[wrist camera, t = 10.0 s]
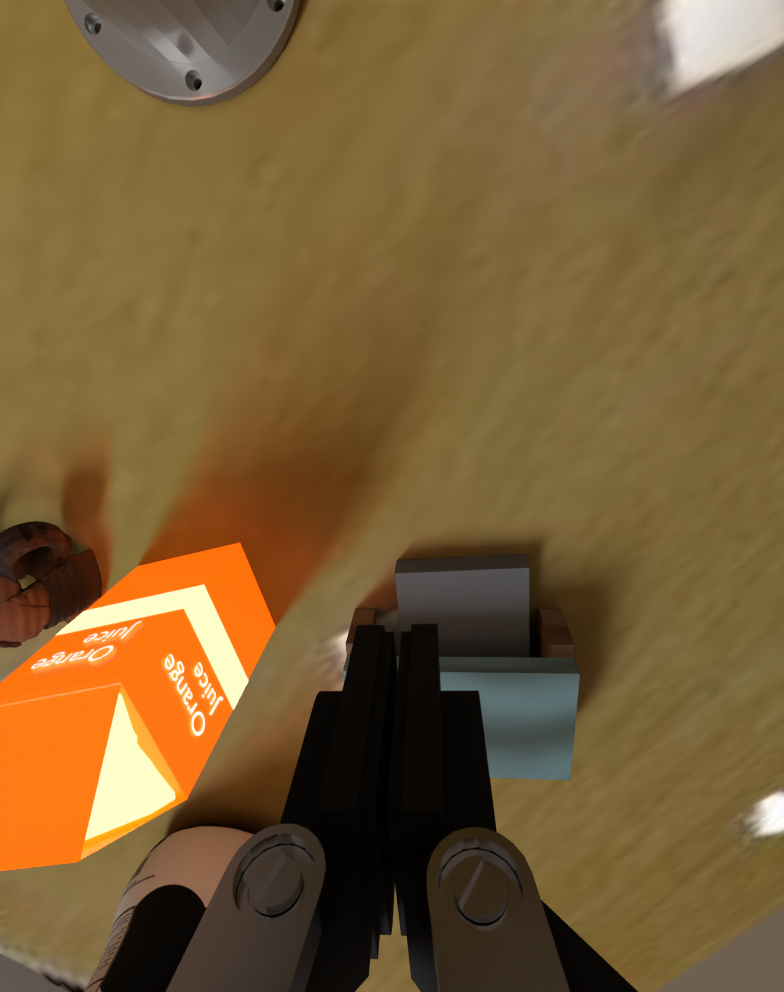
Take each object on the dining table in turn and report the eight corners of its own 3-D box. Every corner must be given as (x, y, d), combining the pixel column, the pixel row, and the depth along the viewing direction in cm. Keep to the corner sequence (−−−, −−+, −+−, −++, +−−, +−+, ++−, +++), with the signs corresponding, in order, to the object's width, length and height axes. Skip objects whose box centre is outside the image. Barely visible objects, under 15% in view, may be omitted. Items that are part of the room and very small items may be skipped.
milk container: (332, 925, 51) (281, 1226, 34) (174, 917, 53) (53, 1199, 36) (309, 805, 45) (234, 1098, 28) (133, 801, 47) (-37, 1073, 30)
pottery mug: (97, 635, 41) (-27, 688, 34) (45, 550, 43) (-79, 585, 37) (125, 550, 34) (-22, 596, 28) (62, 455, 37) (-87, 476, 30)
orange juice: (135, 565, 38) (-163, 816, 19) (240, 540, 36) (28, 788, 17) (177, 648, 40) (-50, 943, 21) (277, 628, 38) (126, 927, 20)
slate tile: (397, 557, 36) (394, 573, 34) (523, 551, 35) (529, 567, 33) (413, 707, 41) (411, 731, 38) (524, 706, 40) (529, 730, 37)
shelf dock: (355, 608, 37) (341, 658, 32) (559, 608, 36) (581, 660, 30) (366, 726, 41) (356, 788, 36) (551, 730, 40) (568, 795, 34)
